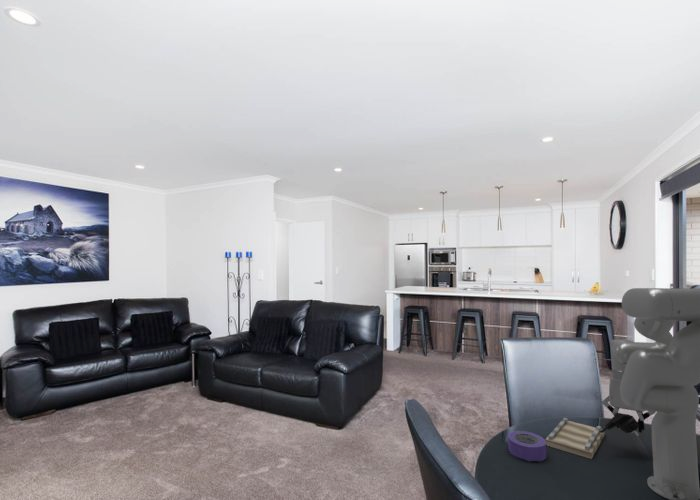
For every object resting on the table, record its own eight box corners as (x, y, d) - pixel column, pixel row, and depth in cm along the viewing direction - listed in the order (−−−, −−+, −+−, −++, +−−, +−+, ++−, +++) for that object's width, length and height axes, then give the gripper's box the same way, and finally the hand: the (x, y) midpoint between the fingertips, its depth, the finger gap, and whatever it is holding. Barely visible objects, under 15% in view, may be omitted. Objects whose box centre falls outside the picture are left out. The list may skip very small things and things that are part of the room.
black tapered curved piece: (594, 427, 127) (621, 407, 127) (608, 446, 126) (636, 426, 126) (604, 433, 121) (633, 412, 121) (619, 453, 120) (648, 432, 120)
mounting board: (591, 459, 119) (591, 449, 119) (545, 445, 129) (545, 436, 129) (604, 435, 136) (604, 426, 137) (562, 424, 146) (562, 416, 146)
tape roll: (536, 466, 115) (536, 450, 116) (501, 452, 124) (501, 437, 125) (552, 454, 123) (551, 439, 123) (518, 442, 132) (517, 427, 132)
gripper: (657, 377, 124) (662, 432, 122) (598, 370, 136) (601, 420, 134) (656, 381, 119) (661, 439, 116) (594, 373, 130) (597, 425, 128)
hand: (629, 428), depth 125 cm, fingers closed on black tapered curved piece, 5 cm apart
